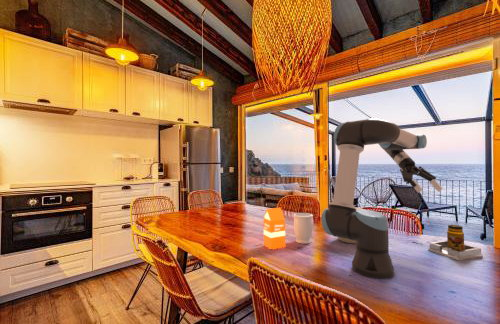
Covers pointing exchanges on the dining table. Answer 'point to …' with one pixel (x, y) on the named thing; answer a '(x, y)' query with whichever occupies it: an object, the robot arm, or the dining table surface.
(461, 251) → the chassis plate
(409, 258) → the dining table surface
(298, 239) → the jar
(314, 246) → the dining table surface
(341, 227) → the robot arm
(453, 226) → the condiment
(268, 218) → the orange juice
